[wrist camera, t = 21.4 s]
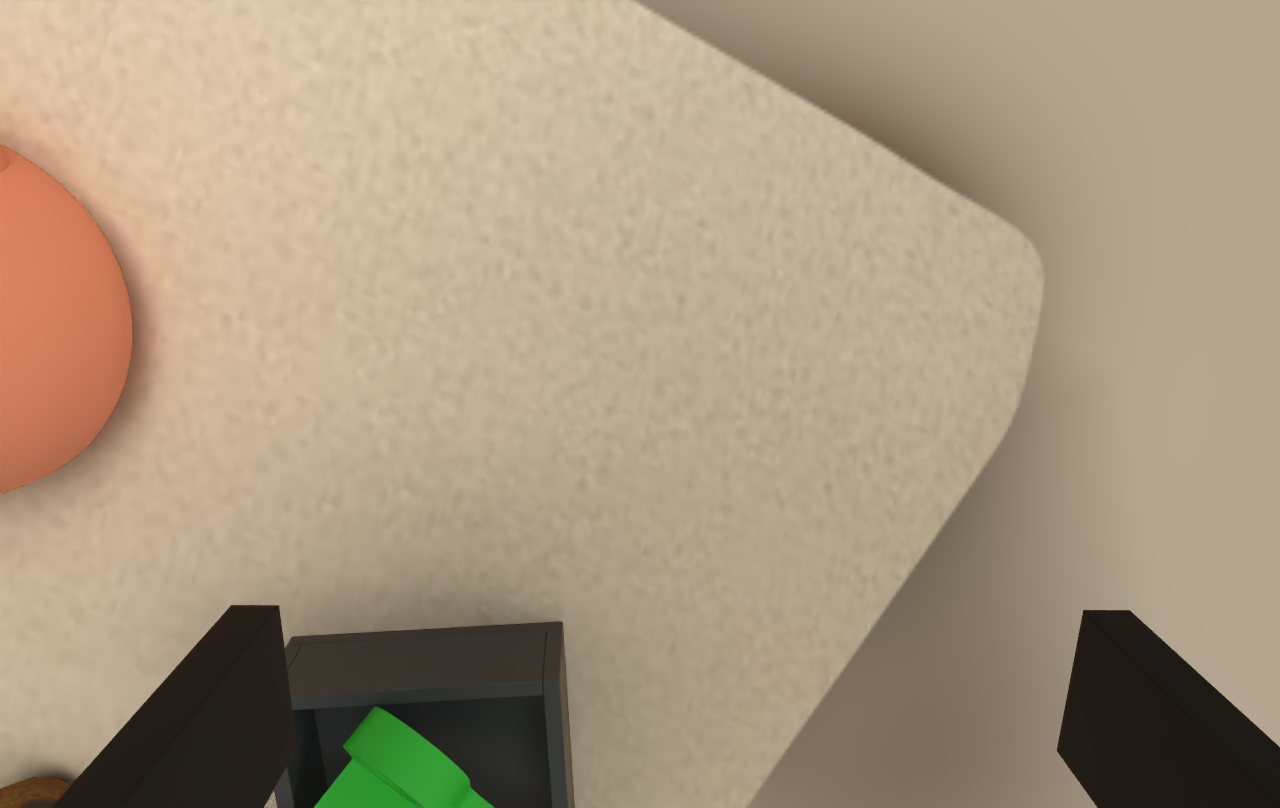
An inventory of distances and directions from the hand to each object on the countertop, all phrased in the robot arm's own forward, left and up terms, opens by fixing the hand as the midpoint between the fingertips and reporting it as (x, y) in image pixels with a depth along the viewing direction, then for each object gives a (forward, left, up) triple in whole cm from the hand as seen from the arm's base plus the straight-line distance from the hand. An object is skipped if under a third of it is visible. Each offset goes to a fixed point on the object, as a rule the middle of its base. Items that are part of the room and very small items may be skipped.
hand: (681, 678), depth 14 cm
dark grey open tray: (+10, +25, -25) cm, 37 cm away
